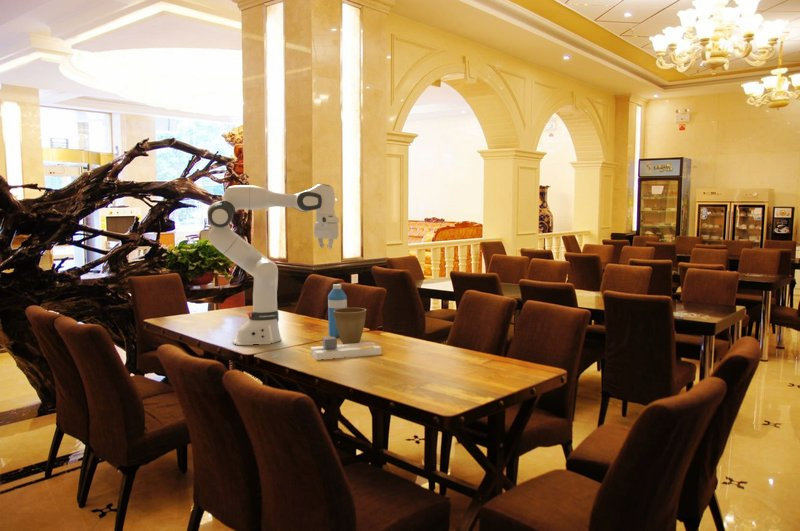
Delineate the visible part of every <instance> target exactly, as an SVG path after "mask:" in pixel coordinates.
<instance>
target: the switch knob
mask: <svg viewBox="0 0 800 531" xmlns="http://www.w3.org/2000/svg"><path fill="white" fill-rule="evenodd" d="M321 341H322V342H321V343H322V346H323V348H324V350H327V349H335V348H337V345H338V343H337V342H338V339H337V337H333V336H324V337H322V340H321Z"/></svg>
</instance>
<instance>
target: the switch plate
mask: <svg viewBox="0 0 800 531" xmlns="http://www.w3.org/2000/svg"><path fill="white" fill-rule="evenodd" d="M310 355H311V356H312V357H313V358H314V359H315V360H316V361H322V360H321V359H324V360H332V359H333V358H335V359H344V357H346V358H354V357H367V356H377V355H382V346H380V345H377V344H376V343H375V342H374V341H367V342H365V341H364V342H359V343H352V344H343V343H342V344H337V348H335V349H327V350H324V348H323V345H321V346H310Z"/></svg>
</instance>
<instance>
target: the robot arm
mask: <svg viewBox="0 0 800 531" xmlns="http://www.w3.org/2000/svg"><path fill="white" fill-rule="evenodd" d="M335 204H336V200H335V190H334V187H332V186H331V185H329V184H325V183H317V184H316V185H314V186H313V187H312V188H309V189H306V190H302V191H298V192H297V193H280V192H273V191H271V190H269V189H268V188H266V187H262V186H257V185H251V184H250V185H247V184H245V185H244V184H239V185H230V186H227V188H226V189H225V191H224V193H223V199H222V200H216V201H214V202H212V203H211V204H210V206H209V207H208V208H207V213H206V214H207V219H208V221H209V223H210V224H211V228H210V230H209V231H208V234H207V239H208V241H209V242H210V244H211V245H212V247H213V246H214V248H215V249H216V250H218V252H220V253H221V254H222V255H224V257H226V258H228V259H229V260H230V261H231V262H233V263H235V265H237V266H238V267H240V268H241V269H242V270H244V271H245V272H246V273H247V274H250V275H251V276H252V277H253V290H252V306H253V307H252V310H253V311H247V313H246V315H247V316H248V320H247V321H246V322H245V323H243V324H242V325H241V326H240V327H238V330H237V333H236V337H234V338H232V344H233V343H234V344H233V345H235V344H236V345H235V346H251V345H252V346H253V344H259V345H272V344H273V343H276V342H280V341H282V337H281V333H280V328H279V320H280V318H279V310H278V293H277V292H278V286H279V284H278V282H279V269H278V265H277V264H276V263H275V262H274V261H273V260H272V259H269V258H268V257H267V256H265V255H264V254H263V253H262V252H260V251H259V250H258V249H257V248H256V247H254V246H253V245H252V244H251V243H249V242H247V241H246V239H244V238H243V237H241V236H240V235H239V234H237V233H236V232H235V231H234V230H233V229H232V228H231V227H230V224H231V223H232V221H233V218H234V215H235V213H236V211H237V210H247V211H248V210H249V211H251V210H253V211H256V210H257V211H258V210H265V209H268V208H273V207H280V208H281V207H282V208H283V207H284V208H294V209H295V210H297V211H299V212H302V213H308V212H311V211H315V223H314V226H313V235H314V236H313V237H314V238H317V242H318V246H319V248H324V247H325V244H324V239H327V241H328V244H326V246H327V249H331V250H332V249H333V244H334V240H337V239H338V237H339V223H340V218H339V217H338V216H337V215H336V212H335ZM271 343H272V344H271Z"/></svg>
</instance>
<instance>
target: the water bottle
mask: <svg viewBox="0 0 800 531" xmlns="http://www.w3.org/2000/svg"><path fill="white" fill-rule="evenodd" d="M347 298H348V296H347V294H346V292H345V291H344V290H343V288H342V284H341V283H337V284H335V283H334V284H332V289H331V291H330V292H329V293H328V295H327V308H328V309H327V312H328V314H327V316H328V317H327V318H328V319H327V320H328V321H327V322H328V337H335V338H338V337H339V338H340V336H339V333H338V329H337V326H336V322H335V316H334V310H336V309H341V308H348V303H347V302H348V299H347Z"/></svg>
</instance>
